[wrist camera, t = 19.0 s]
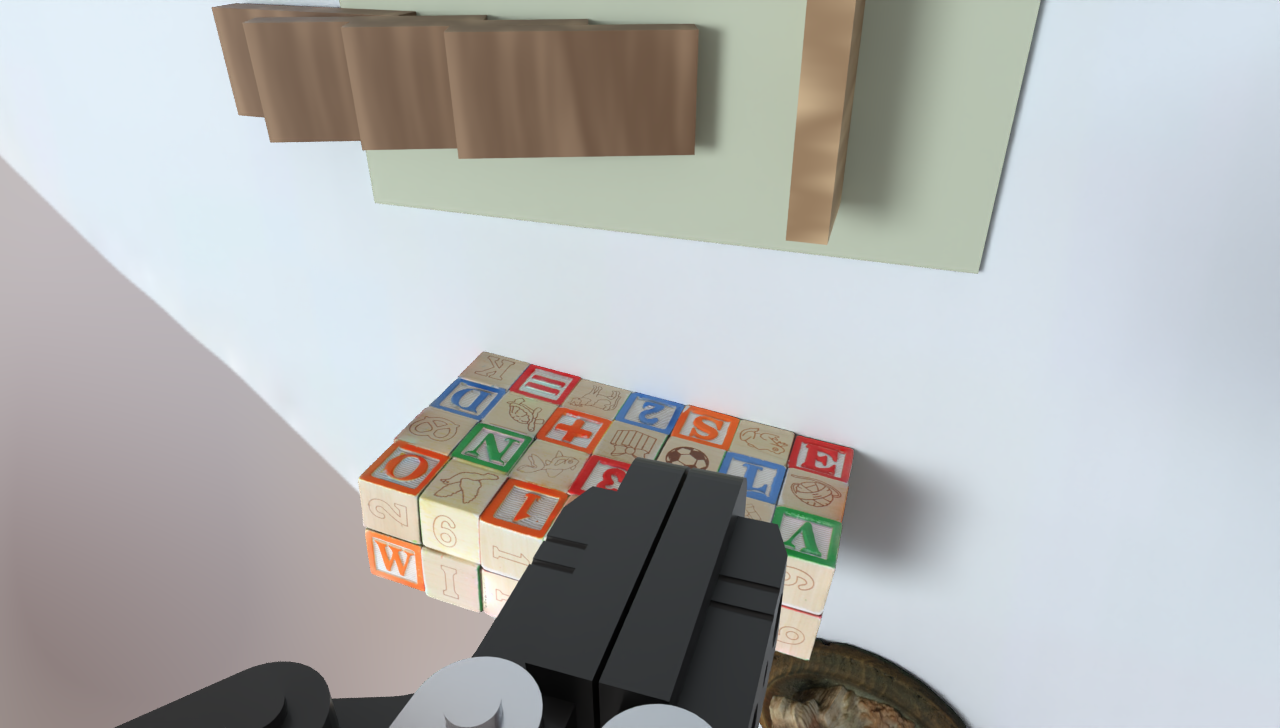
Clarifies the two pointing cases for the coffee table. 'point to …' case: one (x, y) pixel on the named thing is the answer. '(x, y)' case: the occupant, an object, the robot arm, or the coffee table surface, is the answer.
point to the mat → (770, 132)
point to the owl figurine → (849, 693)
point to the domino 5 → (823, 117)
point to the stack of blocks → (579, 483)
